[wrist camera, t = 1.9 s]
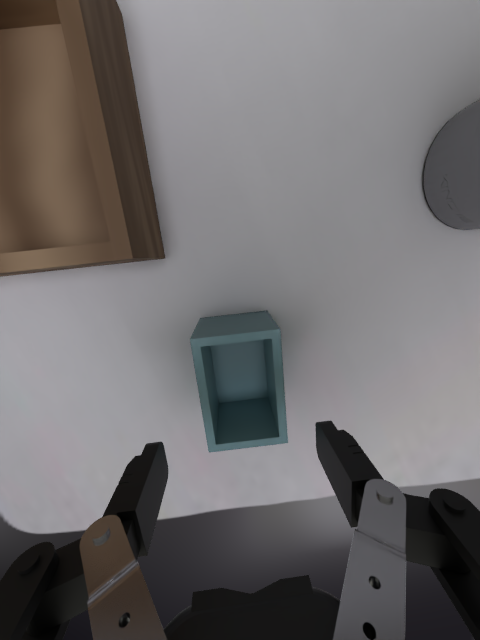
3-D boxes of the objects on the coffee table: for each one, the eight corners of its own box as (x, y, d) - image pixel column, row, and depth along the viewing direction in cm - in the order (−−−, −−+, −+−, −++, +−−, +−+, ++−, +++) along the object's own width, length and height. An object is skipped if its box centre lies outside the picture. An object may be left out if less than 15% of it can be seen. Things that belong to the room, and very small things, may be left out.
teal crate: (266, 310, 22) (280, 329, 16) (273, 398, 24) (287, 442, 18) (200, 317, 22) (189, 339, 16) (213, 405, 24) (208, 452, 18)
